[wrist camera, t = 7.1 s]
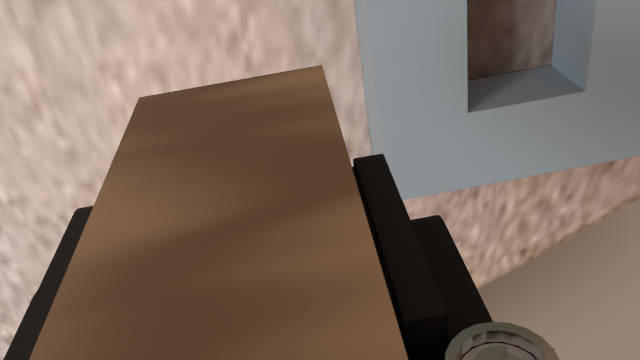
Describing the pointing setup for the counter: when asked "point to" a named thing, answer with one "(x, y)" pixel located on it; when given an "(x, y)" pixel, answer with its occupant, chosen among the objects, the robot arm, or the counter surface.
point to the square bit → (227, 236)
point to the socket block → (497, 95)
